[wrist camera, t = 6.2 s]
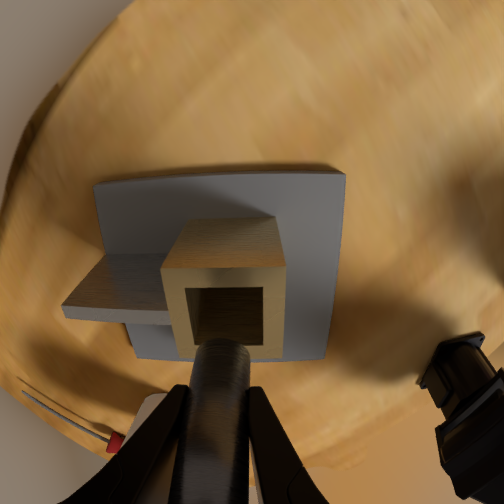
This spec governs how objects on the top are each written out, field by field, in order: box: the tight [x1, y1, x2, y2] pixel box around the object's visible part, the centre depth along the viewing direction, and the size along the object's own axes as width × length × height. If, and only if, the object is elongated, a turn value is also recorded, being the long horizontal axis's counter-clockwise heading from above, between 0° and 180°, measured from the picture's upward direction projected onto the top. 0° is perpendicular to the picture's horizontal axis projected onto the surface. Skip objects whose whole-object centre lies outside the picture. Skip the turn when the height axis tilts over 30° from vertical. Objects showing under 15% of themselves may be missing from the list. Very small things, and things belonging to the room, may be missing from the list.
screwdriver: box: [22, 390, 124, 454], centre depth 28 cm, size 4×25×4 cm, turn 58°
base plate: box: [93, 171, 346, 362], centre depth 19 cm, size 15×14×1 cm
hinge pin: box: [167, 338, 250, 504], centre depth 7 cm, size 2×2×8 cm
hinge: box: [61, 217, 286, 359], centre depth 17 cm, size 11×11×6 cm
